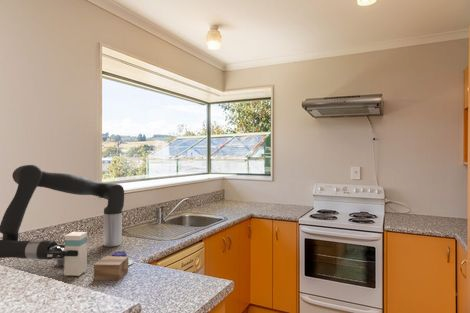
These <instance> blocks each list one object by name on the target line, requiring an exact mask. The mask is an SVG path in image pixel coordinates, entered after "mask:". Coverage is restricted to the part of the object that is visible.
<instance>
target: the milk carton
mask: <svg viewBox="0 0 470 313" xmlns="http://www.w3.org/2000/svg"><path fill="white" fill-rule="evenodd" d="M64 244H65V250H68V251H69V250H77V251H78V256H68V257H65V263H64V267H63V269H64V271H63V272H64V273H63V276H77V277H80V276H81V275H82V274H83V273H85V272H86V271H87V270H88V269H87V262H88V261H87V259H88V257H87V256H88V254H87V253H88V232H87V231H72V232H70V233H68V234H65V235H64Z"/></svg>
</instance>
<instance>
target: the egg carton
mask: <svg viewBox="0 0 470 313" xmlns="http://www.w3.org/2000/svg"><path fill="white" fill-rule="evenodd" d="M55 261H56V266H58V267H59V266H62V267H63V268H64V263H65V257H64V258H62V259H55Z"/></svg>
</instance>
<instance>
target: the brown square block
mask: <svg viewBox="0 0 470 313" xmlns="http://www.w3.org/2000/svg"><path fill="white" fill-rule="evenodd" d="M128 259H129V256H127V257H118V256H112V255H109V256H107V255H105V256H103V257H102V258H101V259H99V260H98V261H97V262H95V263H93V281H94V280H96V281H97V280H98V281H120V280H121V279H122V278H123V277H124V276H125V275H126V274H127V273H128V272H129V265H128V264H129V262H128Z"/></svg>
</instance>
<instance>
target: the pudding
mask: <svg viewBox="0 0 470 313" xmlns="http://www.w3.org/2000/svg"><path fill="white" fill-rule="evenodd" d="M111 256H118V257H128V256H127V252H125V251H122V250H121V251H119V250H118V251H115V252H113V253H112V254H111ZM133 263H134V260H133V259H130V258H128V266H130V265H133Z"/></svg>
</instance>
